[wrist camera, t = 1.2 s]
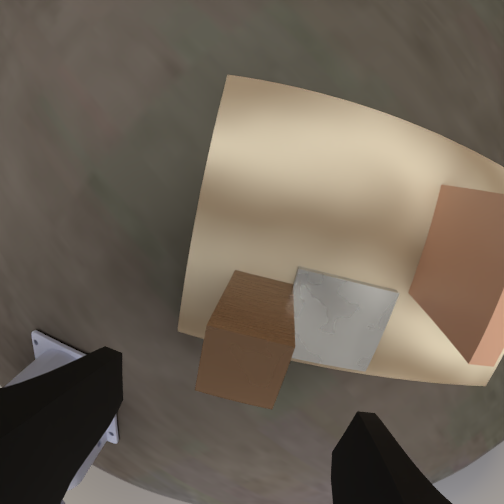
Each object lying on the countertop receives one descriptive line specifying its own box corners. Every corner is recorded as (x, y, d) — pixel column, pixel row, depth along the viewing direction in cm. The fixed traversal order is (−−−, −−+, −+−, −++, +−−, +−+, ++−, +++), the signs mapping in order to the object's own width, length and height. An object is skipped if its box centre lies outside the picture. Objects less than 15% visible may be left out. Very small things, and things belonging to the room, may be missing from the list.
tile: (432, 298, 15) (496, 366, 8) (408, 292, 15) (468, 364, 8) (465, 194, 13) (554, 215, 7) (441, 184, 13) (529, 199, 7)
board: (481, 380, 17) (485, 386, 16) (181, 324, 18) (177, 331, 17) (549, 200, 13) (556, 201, 12) (230, 79, 14) (227, 74, 13)
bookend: (363, 366, 16) (387, 440, 11) (220, 336, 17) (192, 407, 11) (396, 289, 15) (443, 348, 9) (239, 250, 16) (211, 298, 10)
